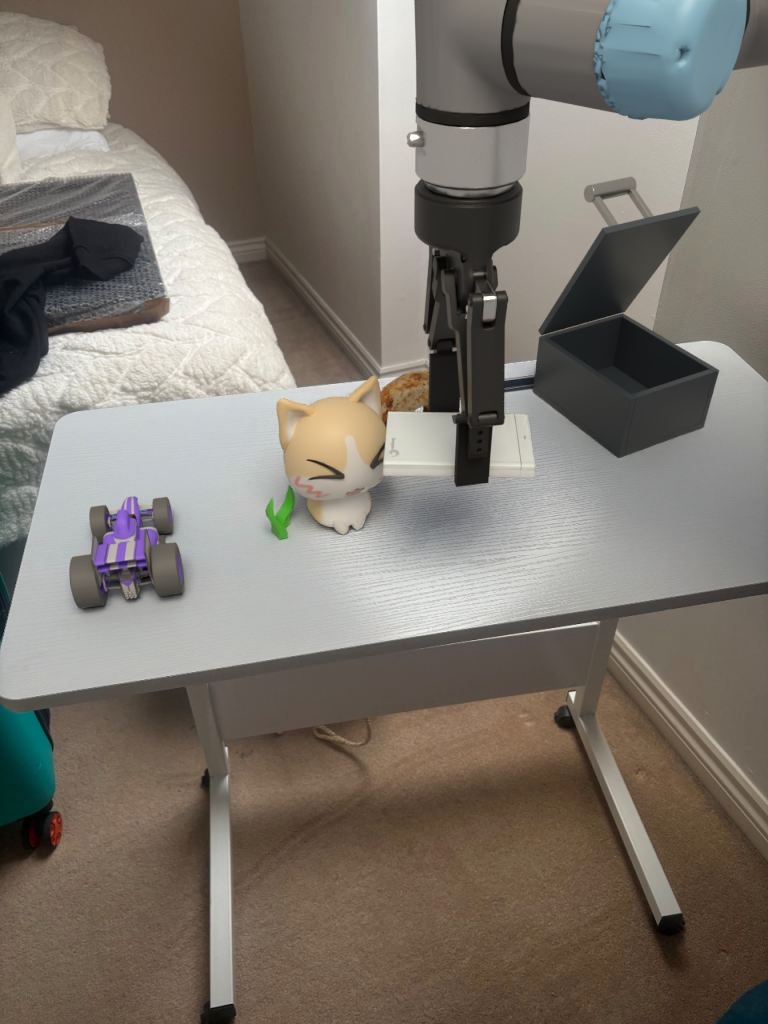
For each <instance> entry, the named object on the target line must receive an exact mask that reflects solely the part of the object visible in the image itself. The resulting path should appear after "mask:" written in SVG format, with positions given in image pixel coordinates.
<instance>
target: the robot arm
mask: <svg viewBox="0 0 768 1024" xmlns="http://www.w3.org/2000/svg"><path fill="white" fill-rule="evenodd" d="M413 1H414V33H415V34H414V37H415V41H414V42H415V108H414V109H415V111H414V112H415V124H416V130H415V131H410V132H408V133H407V135H406V145H407V146H408V147H409V148H414V149H415V151H414V153H415V154H414V155H415V159H414V161H415V162H414V163H415V164H414V166H415V167H414V169H415V170H414V171H415V174H416V176H417V177H418V178H419V180H418V182H417V183H416V184H415V185H414V190H413V191H414V192H413V193H414V194H413V195H414V197H413V198H414V199H413V201H414V202H413V204H414V205H413V209H414V210H413V220H414V221H413V224H414V225H413V229H414V233H415V235H416V237H417V239H419V241H420V242H422V243H423V244H424V245H426V246H428V262H427V265H428V266H427V277H426V289H425V290H426V291H425V303H424V315H423V316H424V317H423V325H422V330H423V331H424V334H425V335H428V338H427V342H426V343H427V347H428V349H429V351H433V352H432V353H429V354H428V358H429V359H428V371H429V401H428V412H449V413H459V411H460V413H459V414H457V415H452V419H453V423H454V424H456V447H455V470H454V477H453V483H454V486H455V488H460V487H466V486H467V487H468V486H475V485H484V484H485V485H486V484H489V480H490V478H489V470H490V457H491V444H492V430H493V426H497V425H503V424H504V420H505V415H504V414H505V383H506V381H505V380H506V379H505V378H506V377H505V376H506V375H505V373H506V370H505V367H506V365H505V364H506V357H505V356H506V351H505V350H506V319H507V313H508V312H507V310H508V303H509V296H508V293H507V291H506V290H505V289H504V290H497V288H498V286H499V276H498V275H499V274H498V268H497V266H496V264H494V260H493V256H494V254H495V253H496V252H497V251H498V250H500V249H501V248H503V247H507V246H508V245H511V243H513V242H514V241H515V240H516V239H517V237H518V236H519V233H520V230H521V217H522V204H523V194H524V193H523V192H524V188H523V186H522V185H521V183H520V182H519V181H520V180H521V179H523V177H524V175H525V174H526V169H527V159H528V149H529V148H528V147H529V134H530V121H531V111H530V108H531V100H532V99H531V98H535V99H542V100H547V101H551V102H557V103H563V104H566V105H572V106H577V107H583V108H588V109H593V110H599V111H603V112H609V113H614V114H618V115H619V116H623V117H627V118H628V119H631V120H639V121H644V120H647V119H652V120H653V119H654V120H655V119H656V120H667V121H673V122H674V121H675V122H685V121H689V120H693V119H695V118H697V117H699V116H700V115H702V114H703V113H705V112H706V111H708V109H709V108H710V107H711V105H712V104H713V102H714V99H715V97H716V96H718V95H720V94H721V93H722V92H723V90H724V88H725V87H726V85H727V83H728V81H729V79H730V77H731V76H732V72H733V71H738V70H743V69H752V68H758V67H765V66H766V67H767V66H768V0H413ZM454 349H456V350H454Z"/></svg>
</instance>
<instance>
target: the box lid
mask: <svg viewBox="0 0 768 1024" xmlns="http://www.w3.org/2000/svg"><path fill="white" fill-rule="evenodd" d="M627 195H628V197H629V198H630V199H631V201H632V202H633V204H634V205H635V207H636V209H637V210H638V212H639V213H640V214H641V216H642V217H643V218H641V219H635V220H631V221H627V222H623V223H622V222H621V223H619V222H618V220H616V218H615V216H614V215H613V214H612V212H611V210H610V209H609V207H608V206H607V204H606V203H605V201H604V200H608V199H613V198H617V197H622V196H627ZM583 197H584V200H585V201H586V202H587V203H592V204H593V205H594V207H595V208H596V210H597V211H598V213H599V214H600V216H601V217H602V219H603V220H604V222H605V223H606V225H607V226H606V227H602V228H601V229H600V231H599V232H598V234H597V236H596V237H595V239H594V240H593V242H592V244H591V245H590V247H589V248H588V250H587V252H586V253H585V255H584V257H583V258H582V259H581V262H580V263H579V264H578V266H577V268H576V269H575V271H574V272H573V274H572V275H571V277H570V279H569V280H568V282H567V284H566V285H565V287H564V289H563V290H562V292H561V293H560V295H559V296H558V298H557V300H555V301H556V302H555V303H554V304H553V306H552V308H551V309H550V311H549V313H548V314H547V315H546V317H545V319H544V321H542V323H541V325H540V326H539V328H538V333H539V334H540V336H544V335H547V334H550V333H554V332H557V331H561V330H564V329H568V328H572V327H575V326H579V325H582V324H586V323H589V322H593V321H596V320H600V319H604V318H607V317H611V316H614V315H618V314H622V313H623V314H624V313H626V312H627V310H628V308H629V307H630V306H631V305H632V303H633V302H634V301H635V300H636V298H637V296H638V295H639V294H640V293H641V291H643V289H644V287H645V286H646V285H647V283H648V282H649V281H650V280H651V278H652V277H653V276H654V274H656V272H657V270H658V269H659V268H660V266H661V265H662V264H663V262H664V261H665V259H666V258H667V257H668V256H669V254H670V253H671V252H672V250H673V249H674V248H675V246H677V244H678V243H679V241H680V240H681V239H682V238H683V236H684V234H685V233H686V232H687V230H688V229H689V228H690V227H691V226H692V224H693V223H694V221H695V220H696V219H697V217H698V216H699V214H700V213H701V209H700V207H698V206H697V205H696V206H691V207H687V208H683V209H678V210H674V211H669V212H664V213H660V214H657V215H654V214H653V212H652V211H651V209H650V208H649V207H648V205H647V204H646V202H645V201H644V199H643V197H642V196H641V195H640V193H639V192H638V191H637V181H636V178H635V177H634V176H626V177H621V178H617V179H611V180H608V181H602V182H597V183H592V184H588V185H586V186H585V187H584V189H583Z"/></svg>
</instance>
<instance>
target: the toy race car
mask: <svg viewBox="0 0 768 1024" xmlns="http://www.w3.org/2000/svg"><path fill="white" fill-rule="evenodd" d="M88 515H89V516H88V517H89V526H90V527H89V528H90V532H91V536H92V537H91V547H90V553H89V554H82V555H75V556H72V557H71V558H70V562H69V570H68V571H69V573H68V575H69V585H70V591H71V594H72V598H73V601H74V603H75V605H76V607H77V608H78V609H85V608H92V607H101V606H104V605H106V602H107V599H108V598H107V597H108V591H109V590H121V591H122V592H121V593H122V596H123V598H124V600H130V599H137V598H139V597H140V590H141V586H145V585H149V584H152V585H153V586H154V590H155V593H156V595H157V596H158V597H167V596H173V595H179V594H183V593H184V590H185V578H184V569H183V568H184V567H183V563H182V562H183V561H182V556H181V552H180V548H179V545H178V544H177V542H176V541H175V542H166V540H165V539H166V537H165V536H166V535H165V534H170V533H171V534H172V533H173V531H174V517H173V511H172V506H171V501H170V499H169V498H168V496H163V497H155V498H153V499H152V503H151V504H148V505H140V504H139V498H138V496H136V495H133V496H127V497H126V498H125V499H124V501H123V502H122V504H121V507H120V508H117V509H109V508H108V506H107V505H106V504H101V505H95V506H90V508H89V513H88ZM142 516H143V517H142ZM142 520H145V521H142ZM151 522H153V524H154V527H153V526H144V525H143V524H145V523H151ZM143 526H144V527H143ZM99 543H102V544H99ZM107 573H108V575H107ZM144 577H149V578H150V581H145V582H142V579H143V578H144ZM109 582H119V586H109Z"/></svg>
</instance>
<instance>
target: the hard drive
mask: <svg viewBox="0 0 768 1024" xmlns="http://www.w3.org/2000/svg"><path fill="white" fill-rule="evenodd" d="M457 414H459V413H449V412H422V411H415V412H388V415H387V425H386V437H385V448H384V460H383V476H386V477H399V478H401V477H402V478H403V477H404V478H407V477H408V478H409V477H411V478H413V477H414V478H454V470H455V447H456V424H454V423H453V419H452V415H457ZM504 415H505V420H504V424H503V425H497V426H493V430H492V444H491V457H490V470H489V479H490V478H492V479H493V478H494V479H535V476H536V461H535V453H534V448H533V441H532V435H531V428H530V423H529V415H528V414H527V413H504Z"/></svg>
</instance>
